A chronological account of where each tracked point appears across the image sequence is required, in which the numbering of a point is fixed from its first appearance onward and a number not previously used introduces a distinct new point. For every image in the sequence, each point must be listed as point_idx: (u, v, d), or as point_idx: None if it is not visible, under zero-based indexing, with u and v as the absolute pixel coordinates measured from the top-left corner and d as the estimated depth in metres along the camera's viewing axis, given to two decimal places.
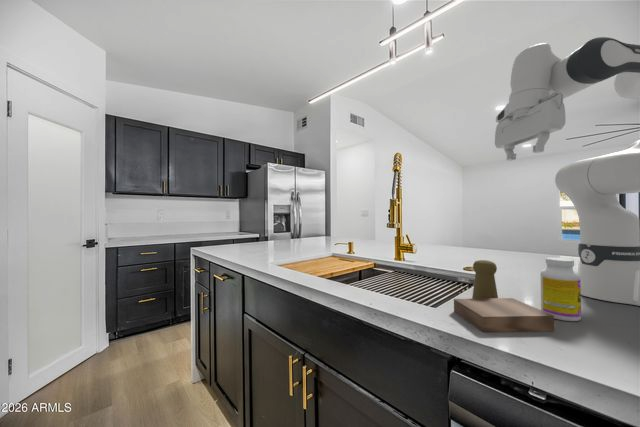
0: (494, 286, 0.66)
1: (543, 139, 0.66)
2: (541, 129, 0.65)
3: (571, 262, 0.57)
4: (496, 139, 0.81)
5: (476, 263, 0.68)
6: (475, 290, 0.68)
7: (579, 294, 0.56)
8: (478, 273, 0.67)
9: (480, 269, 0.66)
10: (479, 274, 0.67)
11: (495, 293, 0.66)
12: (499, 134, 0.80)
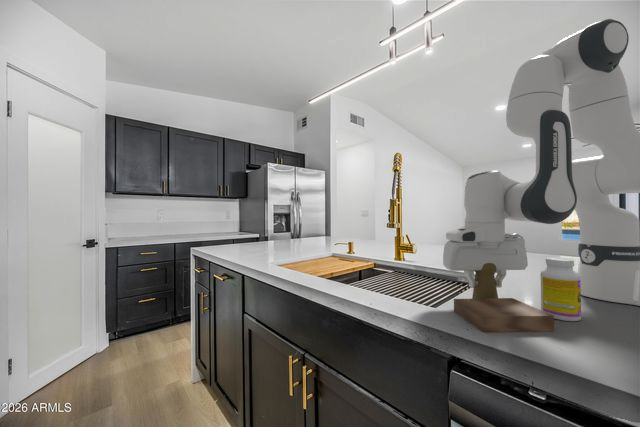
0: (494, 286, 0.66)
1: None
2: (517, 268, 0.66)
3: (571, 262, 0.57)
4: (454, 261, 0.66)
5: None
6: (475, 290, 0.68)
7: (579, 294, 0.56)
8: (478, 273, 0.67)
9: None
10: (479, 274, 0.67)
11: (495, 293, 0.66)
12: (457, 256, 0.66)
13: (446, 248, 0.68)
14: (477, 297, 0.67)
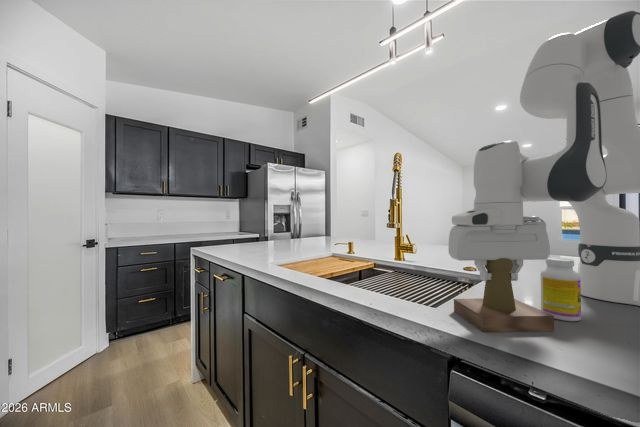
0: (510, 286, 0.55)
1: None
2: (537, 258, 0.55)
3: (571, 262, 0.57)
4: (462, 249, 0.55)
5: None
6: (487, 291, 0.57)
7: (579, 294, 0.56)
8: (491, 271, 0.56)
9: (494, 265, 0.55)
10: (492, 271, 0.56)
11: (512, 294, 0.55)
12: (466, 242, 0.55)
13: (452, 234, 0.58)
14: (490, 300, 0.56)
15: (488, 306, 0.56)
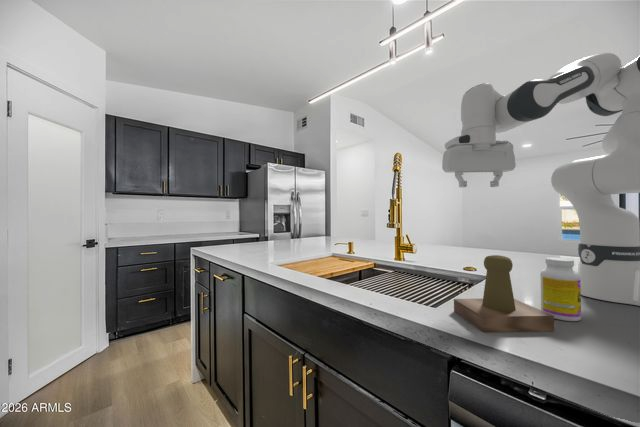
0: (510, 286, 0.55)
1: None
2: (506, 169, 0.77)
3: (571, 262, 0.57)
4: (451, 161, 0.76)
5: (488, 259, 0.57)
6: (487, 291, 0.57)
7: (579, 294, 0.56)
8: (491, 271, 0.56)
9: (494, 265, 0.55)
10: (492, 271, 0.56)
11: (511, 294, 0.55)
12: (454, 157, 0.76)
13: (445, 153, 0.79)
14: (490, 300, 0.56)
15: (488, 306, 0.56)
